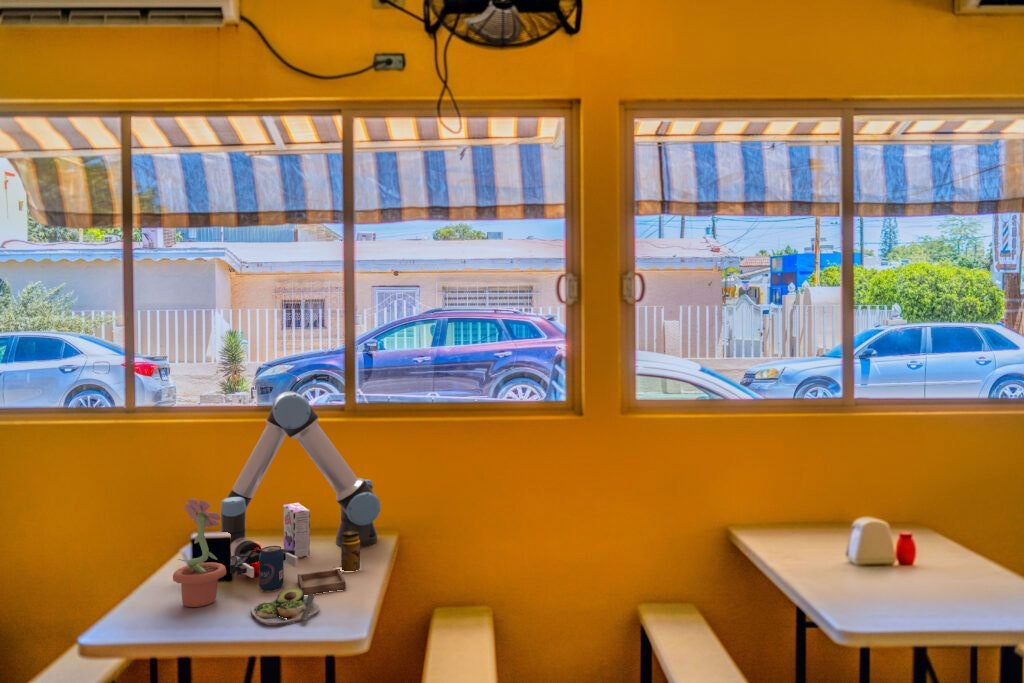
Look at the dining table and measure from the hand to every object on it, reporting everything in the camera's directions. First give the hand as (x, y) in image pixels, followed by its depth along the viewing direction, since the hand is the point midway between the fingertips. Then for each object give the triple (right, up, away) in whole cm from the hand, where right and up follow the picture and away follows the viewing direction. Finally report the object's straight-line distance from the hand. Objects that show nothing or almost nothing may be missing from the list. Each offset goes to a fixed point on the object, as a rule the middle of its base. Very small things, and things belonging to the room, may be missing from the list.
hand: (275, 567), depth 196 cm
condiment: (+17, -7, +19) cm, 26 cm away
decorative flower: (-18, -7, -9) cm, 21 cm away
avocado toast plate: (+9, -7, -16) cm, 20 cm away
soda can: (-2, -7, +2) cm, 8 cm away
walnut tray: (+13, -7, +3) cm, 15 cm away
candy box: (-6, -8, +36) cm, 38 cm away
